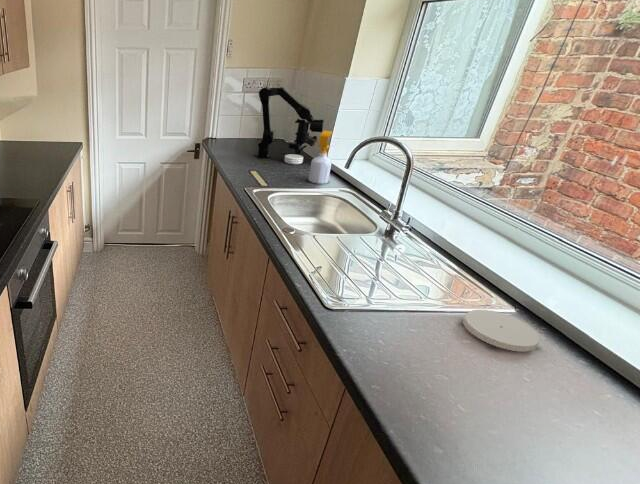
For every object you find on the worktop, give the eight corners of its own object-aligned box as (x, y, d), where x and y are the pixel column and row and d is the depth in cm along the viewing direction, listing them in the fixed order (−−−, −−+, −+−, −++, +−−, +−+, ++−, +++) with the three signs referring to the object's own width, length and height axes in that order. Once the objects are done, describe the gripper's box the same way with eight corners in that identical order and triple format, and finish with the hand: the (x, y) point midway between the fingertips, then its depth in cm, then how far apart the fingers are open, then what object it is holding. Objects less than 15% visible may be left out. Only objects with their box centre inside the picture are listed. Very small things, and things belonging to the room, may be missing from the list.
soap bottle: (330, 180, 207) (340, 131, 196) (323, 185, 201) (333, 134, 190) (312, 177, 212) (321, 128, 201) (305, 181, 206) (314, 131, 195)
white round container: (305, 164, 233) (306, 158, 231) (286, 164, 233) (287, 158, 232) (299, 159, 242) (300, 153, 240) (281, 159, 242) (282, 153, 240)
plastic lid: (552, 352, 95) (557, 343, 94) (496, 357, 94) (500, 348, 93) (497, 315, 108) (501, 307, 106) (447, 319, 106) (451, 311, 105)
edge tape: (250, 171, 223) (250, 171, 223) (255, 171, 223) (255, 171, 223) (261, 185, 202) (261, 185, 202) (267, 185, 202) (267, 185, 201)
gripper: (310, 135, 223) (305, 164, 230) (323, 129, 235) (318, 156, 242) (290, 133, 230) (286, 160, 237) (303, 127, 242) (299, 153, 249)
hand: (298, 158), depth 241 cm, fingers closed
